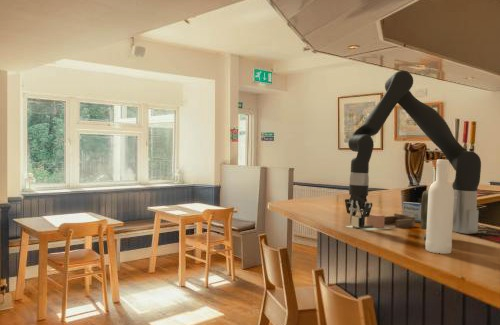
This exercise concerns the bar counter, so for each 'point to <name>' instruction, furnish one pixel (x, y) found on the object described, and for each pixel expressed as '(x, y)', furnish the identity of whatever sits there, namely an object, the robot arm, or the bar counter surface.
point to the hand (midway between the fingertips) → (357, 225)
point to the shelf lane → (393, 222)
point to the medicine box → (412, 210)
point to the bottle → (440, 211)
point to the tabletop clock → (424, 211)
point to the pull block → (369, 221)
